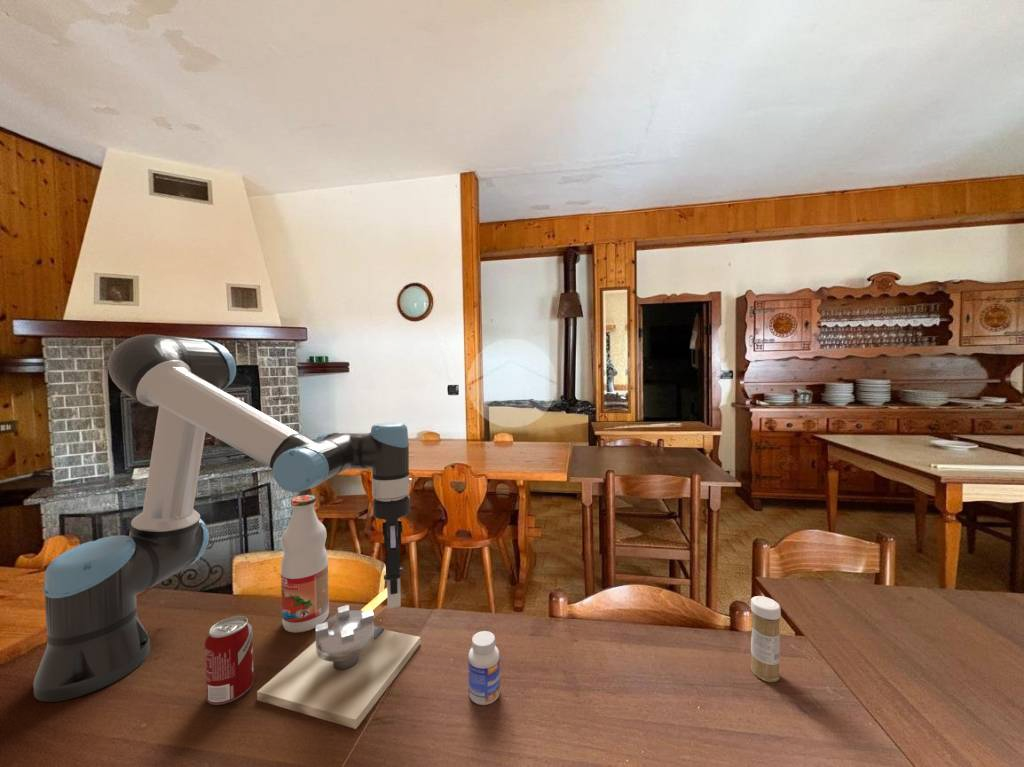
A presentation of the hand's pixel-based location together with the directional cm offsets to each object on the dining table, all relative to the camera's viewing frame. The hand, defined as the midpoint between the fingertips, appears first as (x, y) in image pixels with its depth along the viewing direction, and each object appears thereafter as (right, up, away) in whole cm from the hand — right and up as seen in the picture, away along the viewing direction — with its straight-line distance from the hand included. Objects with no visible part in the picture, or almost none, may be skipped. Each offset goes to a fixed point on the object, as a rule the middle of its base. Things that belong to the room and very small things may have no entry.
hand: (394, 605), depth 84 cm
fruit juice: (-21, -6, +5) cm, 23 cm away
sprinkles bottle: (+72, -6, -12) cm, 73 cm away
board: (-6, -6, -10) cm, 13 cm away
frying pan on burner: (-4, -1, -5) cm, 7 cm away
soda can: (-24, -7, -15) cm, 29 cm away
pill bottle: (+20, -7, -16) cm, 27 cm away
